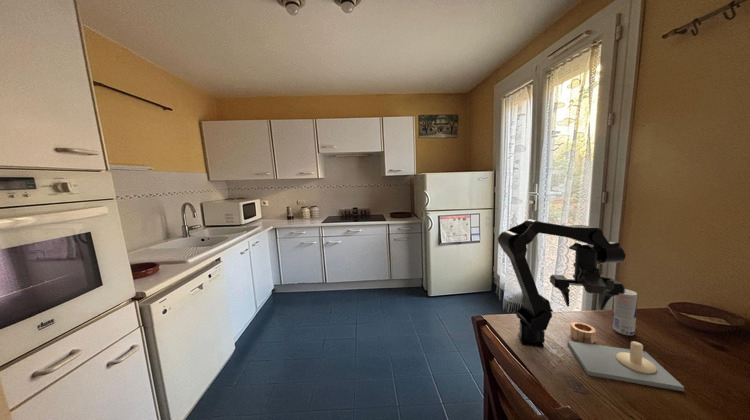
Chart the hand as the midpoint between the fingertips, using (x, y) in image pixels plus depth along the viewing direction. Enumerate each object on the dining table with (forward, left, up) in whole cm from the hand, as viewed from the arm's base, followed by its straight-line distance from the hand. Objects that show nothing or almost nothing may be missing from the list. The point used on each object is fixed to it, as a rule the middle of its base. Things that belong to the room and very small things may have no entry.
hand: (583, 307), depth 85 cm
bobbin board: (+4, -12, -11) cm, 17 cm away
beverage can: (+15, +8, -11) cm, 20 cm away
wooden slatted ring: (0, 0, -11) cm, 11 cm away
